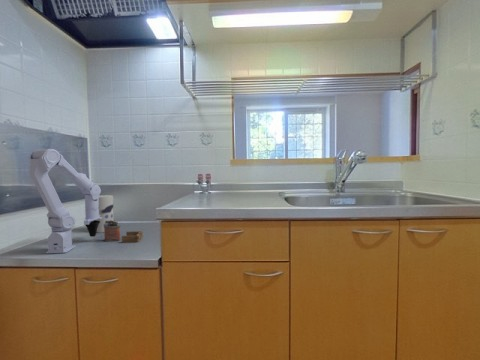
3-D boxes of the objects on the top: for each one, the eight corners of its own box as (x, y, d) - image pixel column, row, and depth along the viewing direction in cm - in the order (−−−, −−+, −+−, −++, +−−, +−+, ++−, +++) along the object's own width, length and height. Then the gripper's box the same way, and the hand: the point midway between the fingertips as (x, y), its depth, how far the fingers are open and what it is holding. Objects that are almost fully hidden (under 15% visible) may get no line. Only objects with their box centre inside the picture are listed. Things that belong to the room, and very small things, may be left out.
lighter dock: (138, 242, 127) (138, 236, 127) (121, 242, 126) (121, 236, 125) (142, 236, 137) (142, 231, 137) (127, 237, 135) (127, 231, 135)
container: (105, 233, 144) (104, 197, 143) (89, 232, 146) (89, 196, 145) (117, 229, 153) (117, 195, 152) (102, 228, 155) (102, 194, 154)
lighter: (121, 239, 131) (121, 220, 130) (118, 241, 127) (117, 221, 127) (106, 239, 132) (106, 219, 131) (102, 241, 128) (102, 221, 128)
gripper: (95, 210, 121) (96, 239, 122) (105, 206, 135) (106, 232, 136) (78, 211, 120) (79, 240, 120) (91, 206, 134) (91, 232, 135)
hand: (92, 236), depth 128 cm, fingers closed
